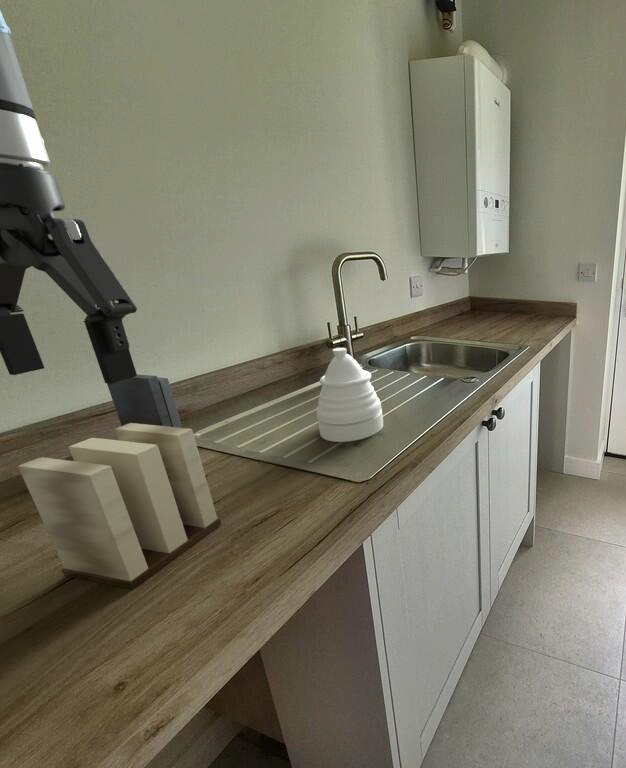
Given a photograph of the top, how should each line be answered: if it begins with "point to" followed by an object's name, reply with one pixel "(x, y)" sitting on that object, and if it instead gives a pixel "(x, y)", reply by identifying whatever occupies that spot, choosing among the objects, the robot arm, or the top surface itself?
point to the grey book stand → (145, 401)
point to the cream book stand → (117, 508)
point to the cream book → (139, 489)
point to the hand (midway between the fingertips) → (73, 375)
